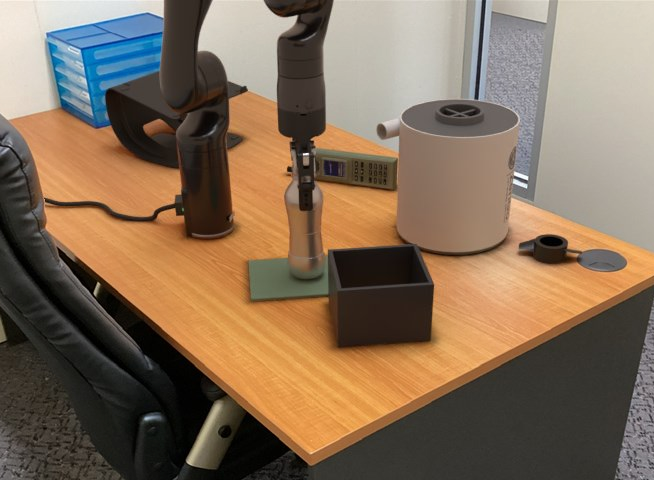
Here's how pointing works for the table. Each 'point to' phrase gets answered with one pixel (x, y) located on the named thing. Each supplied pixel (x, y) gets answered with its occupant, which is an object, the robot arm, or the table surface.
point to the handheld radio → (355, 168)
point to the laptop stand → (150, 118)
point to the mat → (283, 281)
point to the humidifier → (454, 174)
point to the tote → (380, 295)
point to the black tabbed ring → (548, 248)
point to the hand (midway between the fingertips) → (303, 199)
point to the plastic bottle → (304, 232)
